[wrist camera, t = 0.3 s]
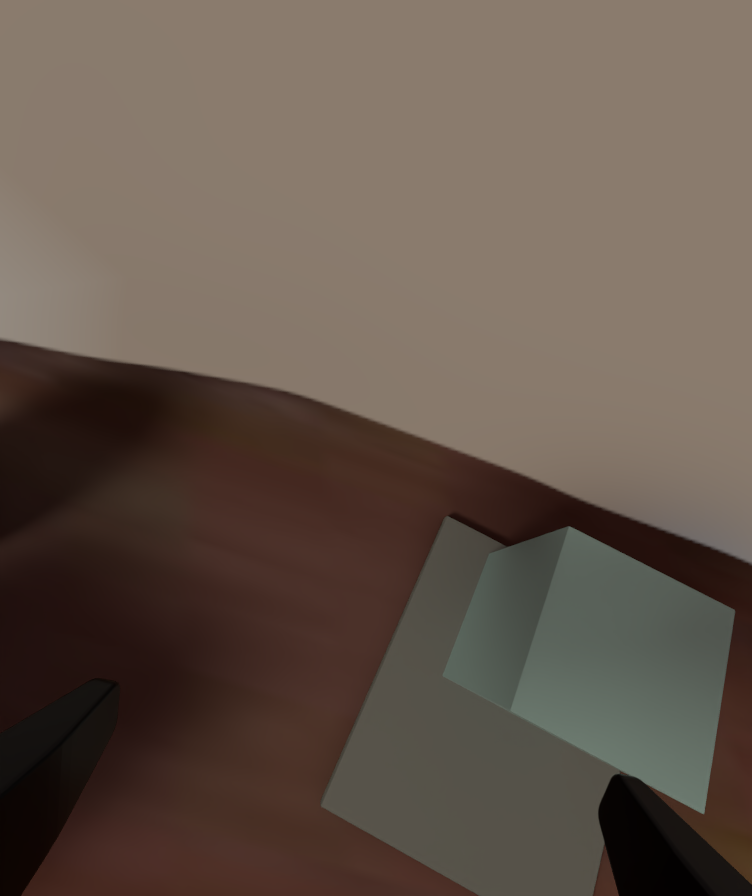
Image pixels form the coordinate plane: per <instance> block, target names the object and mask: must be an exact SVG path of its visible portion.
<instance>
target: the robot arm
mask: <svg viewBox="0 0 752 896" xmlns="http://www.w3.org/2000/svg"><path fill="white" fill-rule="evenodd" d="M119 695H120V685H119V683H118V682H116V681H112V680H106V679H101V678H95V679H92V680H90V681H88V682H87V683H85V684H83V685H82V686H80V687H78V688H77V689H75V690H73V691H72V692H70V693H68V694H66V695H65V696H63V697H61V698H60V699H58V700H56V701H55V702H53V703H51V704H50V705H48V706H46V707H44V708H43V709H41V710H39V711H38V712H36V713H34V714H33V715H31V716H29V717H28V718H26V719H24V720H22V721H21V722H19V723H17V724H16V725H14V726H12V727H11V728H9V729H7V730H6V731H4V732H2V733H0V896H21V895H22V893H23V891H24V890H25V888H26V887H27V885H28V884H29V882H30V880H31V879H32V877H33V876H34V874H35V873H36V871H37V870H38V868H39V866H40V865H41V863H42V862H43V860H44V859H45V857H46V855H47V854H48V852H49V850H50V849H51V847H52V846H53V844H54V842H55V841H56V839H57V837H58V835H59V834H60V832H61V830H62V828H63V826H64V824H65V823H66V821H67V819H68V817H69V815H70V813H71V811H72V809H73V808H74V806H75V804H76V802H77V800H78V798H79V796H80V794H81V792H82V791H83V789H84V787H85V785H86V783H87V781H88V779H89V777H90V775H91V773H92V772H93V770H94V768H95V766H96V764H97V762H98V760H99V758H100V756H101V755H102V753H103V751H104V749H105V747H106V745H107V743H108V741H109V739H110V738H111V736H112V733H113V731H114V729H115V726H116V722H117V715H118V705H119ZM598 819H599V824H600V828H601V832H602V835H603V839H604V843H605V846H606V850H607V853H608V857H609V861H610V864H611V868H612V872H613V875H614V879H615V883H616V886H617V890H618V894H619V896H752V884H750V883H749V882H748V881H747V880H746V879H745V878H744V877H743V876H742V875H741V874H740V873H739V872H738V871H737V870H736V869H735V868H734V867H732V866H731V865H730V864H729V863H728V862H727V861H726V860H725V859H724V858H723V857H722V856H721V855H720V854H719V853H718V852H717V851H716V850H715V849H713V848H712V847H711V846H710V845H709V844H708V843H707V842H706V841H705V840H704V839H703V838H702V837H701V836H700V835H699V834H698V833H697V832H696V831H694V830H693V829H692V828H691V827H690V826H689V825H688V824H687V823H686V822H685V821H684V820H683V819H682V818H681V817H680V816H679V815H678V814H676V813H675V812H674V811H673V810H672V809H671V808H670V807H669V806H668V805H667V804H666V803H665V802H664V801H663V800H662V799H661V798H660V797H659V796H657V795H656V794H655V793H654V792H653V791H652V790H651V789H650V788H649V787H648V786H647V785H646V784H645V783H644V782H643V781H641V780H640V779H639V778H637V777H634V776H629V775H623V774H615V775H613V776H612V777H611V779H610V781H609V783H608V786H607V788H606V790H605V793H604V795H603V797H602V799H601V802H600V804H599V808H598Z"/></svg>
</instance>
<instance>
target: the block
mask: <svg viewBox="0 0 752 896" xmlns="http://www.w3.org/2000/svg"><path fill="white" fill-rule="evenodd" d="M734 615H735V610H734V609H732V608H730V607H728V606H726V605H724V604H722V603H720V602H718V601H716V600H714V599H712V598H710V597H708V596H706V595H704V594H702V593H700V592H698V591H696V590H694V589H692V588H690V587H688V586H686V585H684V584H682V583H680V582H678V581H676V580H675V579H673V578H671V577H669V576H667V575H665V574H663V573H661V572H659V571H657V570H655V569H653V568H651V567H649V566H647V565H645V564H643V563H641V562H639V561H637V560H635V559H633V558H631V557H629V556H627V555H625V554H623V553H621V552H619V551H617V550H615V549H613V548H611V547H609V546H608V545H606V544H604V543H602V542H600V541H598V540H596V539H594V538H592V537H590V536H588V535H586V534H584V533H582V532H580V531H578V530H576V529H574V528H572V527H570V526H568V527H565V528H562V529H559V530H556V531H553V532H550V533H547V534H545V535H542V536H539V537H536V538H533V539H530V540H527V541H524V542H521V543H518V544H516V545H513V546H510V547H507V548H504V549H501V550H498V551H495V552H492V553H489V555H488V558H487V561H486V563H485V566H484V568H483V571H482V574H481V576H480V579H479V581H478V584H477V587H476V589H475V592H474V595H473V597H472V600H471V602H470V605H469V608H468V610H467V613H466V615H465V618H464V621H463V623H462V626H461V628H460V631H459V634H458V636H457V639H456V642H455V644H454V647H453V649H452V652H451V655H450V657H449V660H448V662H447V665H446V668H445V670H444V673H443V675H442V676H443V677H445V678H447V679H449V680H451V681H453V682H455V683H456V684H458V685H460V686H462V687H464V688H466V689H468V690H470V691H471V692H473V693H475V694H477V695H479V696H481V697H483V698H484V699H486V700H488V701H490V702H492V703H494V704H496V705H498V706H499V707H501V708H503V709H505V710H507V711H509V712H511V713H512V714H514V715H516V716H518V717H520V718H522V719H524V720H526V721H527V722H529V723H531V724H533V725H535V726H537V727H539V728H540V729H542V730H544V731H546V732H548V733H550V734H552V735H553V736H555V737H557V738H559V739H561V740H563V741H565V742H567V743H568V744H570V745H572V746H574V747H576V748H578V749H580V750H582V751H584V752H586V753H588V754H590V755H591V756H593V757H595V758H597V759H599V760H601V761H603V762H605V763H607V764H609V765H611V766H612V767H614V768H616V769H618V770H620V771H622V772H624V773H626V774H628V775H630V776H634V777H637V778H639V779H640V780H641V781H643V782H644V783H645V784H647V785H649V786H651V787H653V788H654V789H656V790H658V791H660V792H662V793H664V794H666V795H668V796H670V797H672V798H674V799H675V800H677V801H679V802H681V803H683V804H685V805H687V806H689V807H691V808H693V809H695V810H697V811H698V812H700V813H702V814H704V811H705V804H706V798H707V791H708V785H709V778H710V772H711V765H712V759H713V752H714V745H715V739H716V732H717V726H718V719H719V713H720V706H721V700H722V693H723V687H724V680H725V674H726V667H727V661H728V654H729V648H730V641H731V635H732V628H733V621H734Z"/></svg>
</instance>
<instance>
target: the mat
mask: <svg viewBox="0 0 752 896" xmlns="http://www.w3.org/2000/svg"><path fill="white" fill-rule="evenodd" d="M504 548H507V546H505V545H503V544H501V543H499V542H497V541H495V540H493V539H491V538H489V537H487V536H486V535H484V534H482V533H480V532H478V531H476V530H474V529H472V528H470V527H468V526H466V525H464V524H462V523H460V522H458V521H456V520H454V519H452V518H451V517H449V516H446V517H445V518H444V520H443V522H442V525H441V527H440V529H439V531H438V534H437V536H436V538H435V541H434V543H433V545H432V547H431V550H430V552H429V554H428V557H427V559H426V561H425V563H424V566H423V568H422V570H421V573H420V575H419V577H418V579H417V582H416V584H415V586H414V588H413V591H412V593H411V595H410V598H409V600H408V602H407V604H406V607H405V609H404V611H403V614H402V616H401V618H400V620H399V623H398V625H397V627H396V630H395V632H394V634H393V636H392V639H391V641H390V643H389V646H388V648H387V650H386V652H385V655H384V657H383V659H382V662H381V664H380V666H379V668H378V671H377V673H376V675H375V678H374V680H373V682H372V684H371V687H370V689H369V691H368V694H367V696H366V698H365V700H364V703H363V705H362V707H361V710H360V712H359V714H358V716H357V719H356V721H355V723H354V726H353V728H352V730H351V732H350V735H349V737H348V739H347V742H346V744H345V746H344V748H343V751H342V753H341V755H340V758H339V760H338V762H337V764H336V767H335V769H334V771H333V774H332V776H331V778H330V780H329V783H328V785H327V787H326V790H325V792H324V794H323V796H322V799H321V807H323V808H325V809H326V810H328V811H330V812H332V813H334V814H335V815H337V816H339V817H341V818H342V819H344V820H346V821H348V822H350V823H351V824H353V825H355V826H357V827H358V828H360V829H362V830H364V831H366V832H367V833H369V834H371V835H373V836H374V837H376V838H378V839H380V840H382V841H383V842H385V843H387V844H389V845H390V846H392V847H394V848H396V849H398V850H399V851H401V852H403V853H405V854H406V855H408V856H410V857H412V858H414V859H415V860H417V861H419V862H421V863H422V864H424V865H426V866H428V867H430V868H431V869H433V870H435V871H437V872H438V873H440V874H442V875H444V876H446V877H447V878H449V879H451V880H453V881H454V882H456V883H458V884H460V885H462V886H463V887H465V888H467V889H469V890H470V891H472V892H474V893H476V894H478V895H479V896H593V892H594V888H595V883H596V879H597V874H598V870H599V865H600V860H601V856H602V851H603V847H604V839H603V835H602V832H601V828H600V824H599V819H598V808H599V804H600V802H601V799H602V797H603V795H604V793H605V790H606V788H607V786H608V783H609V781H610V779H611V777H612V776H613V775H615V774H620V770H618V769H616V768H614V767H612V766H611V765H609V764H607V763H605V762H603V761H601V760H599V759H597V758H595V757H593V756H591V755H590V754H588V753H586V752H584V751H582V750H580V749H578V748H576V747H574V746H572V745H570V744H568V743H567V742H565V741H563V740H561V739H559V738H557V737H555V736H553V735H552V734H550V733H548V732H546V731H544V730H542V729H540V728H539V727H537V726H535V725H533V724H531V723H529V722H527V721H526V720H524V719H522V718H520V717H518V716H516V715H514V714H512V713H511V712H509V711H507V710H505V709H503V708H501V707H499V706H498V705H496V704H494V703H492V702H490V701H488V700H486V699H484V698H483V697H481V696H479V695H477V694H475V693H473V692H471V691H470V690H468V689H466V688H464V687H462V686H460V685H458V684H456V683H455V682H453V681H451V680H449V679H447V678H445V677H443V676H442V675H443V673H444V670H445V668H446V665H447V662H448V660H449V657H450V655H451V652H452V649H453V647H454V644H455V642H456V639H457V636H458V634H459V631H460V628H461V626H462V623H463V621H464V618H465V615H466V613H467V610H468V608H469V605H470V602H471V600H472V597H473V595H474V592H475V589H476V587H477V584H478V581H479V579H480V576H481V574H482V571H483V568H484V566H485V563H486V561H487V558H488V555H489V553H492V552H495V551H498V550H501V549H504Z"/></svg>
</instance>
